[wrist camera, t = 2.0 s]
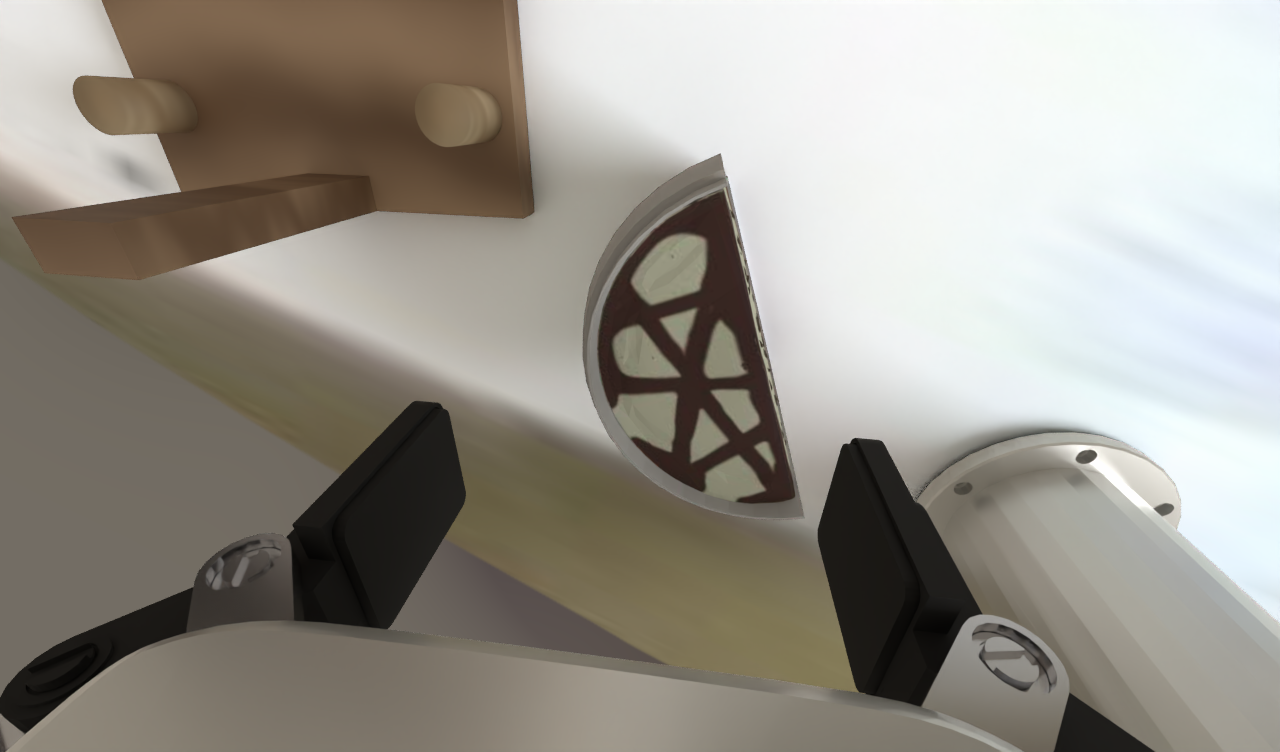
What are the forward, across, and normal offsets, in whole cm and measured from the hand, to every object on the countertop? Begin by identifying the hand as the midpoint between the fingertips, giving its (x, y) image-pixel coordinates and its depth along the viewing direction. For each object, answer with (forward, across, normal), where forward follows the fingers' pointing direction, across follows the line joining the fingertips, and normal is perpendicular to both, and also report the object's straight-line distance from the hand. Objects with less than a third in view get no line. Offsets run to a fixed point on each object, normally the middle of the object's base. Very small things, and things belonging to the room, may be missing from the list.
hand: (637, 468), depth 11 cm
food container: (+14, -1, 0) cm, 14 cm away
